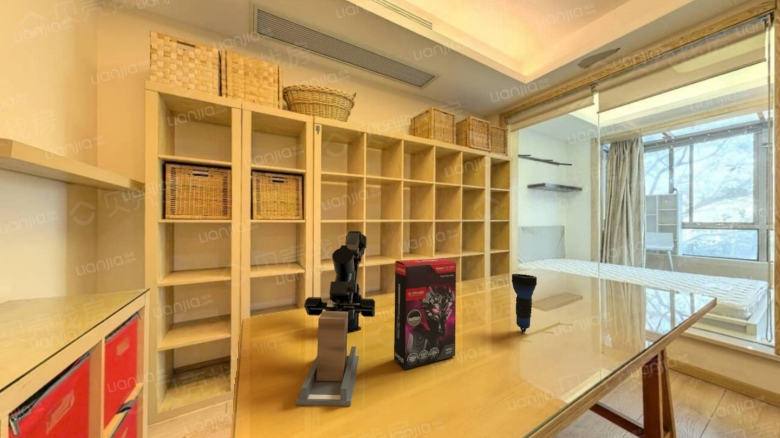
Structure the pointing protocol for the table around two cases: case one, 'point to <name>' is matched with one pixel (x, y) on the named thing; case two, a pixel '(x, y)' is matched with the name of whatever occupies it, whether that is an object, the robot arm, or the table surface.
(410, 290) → the graphics card box
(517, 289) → the flashlight
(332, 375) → the block
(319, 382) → the chute
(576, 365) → the table surface
